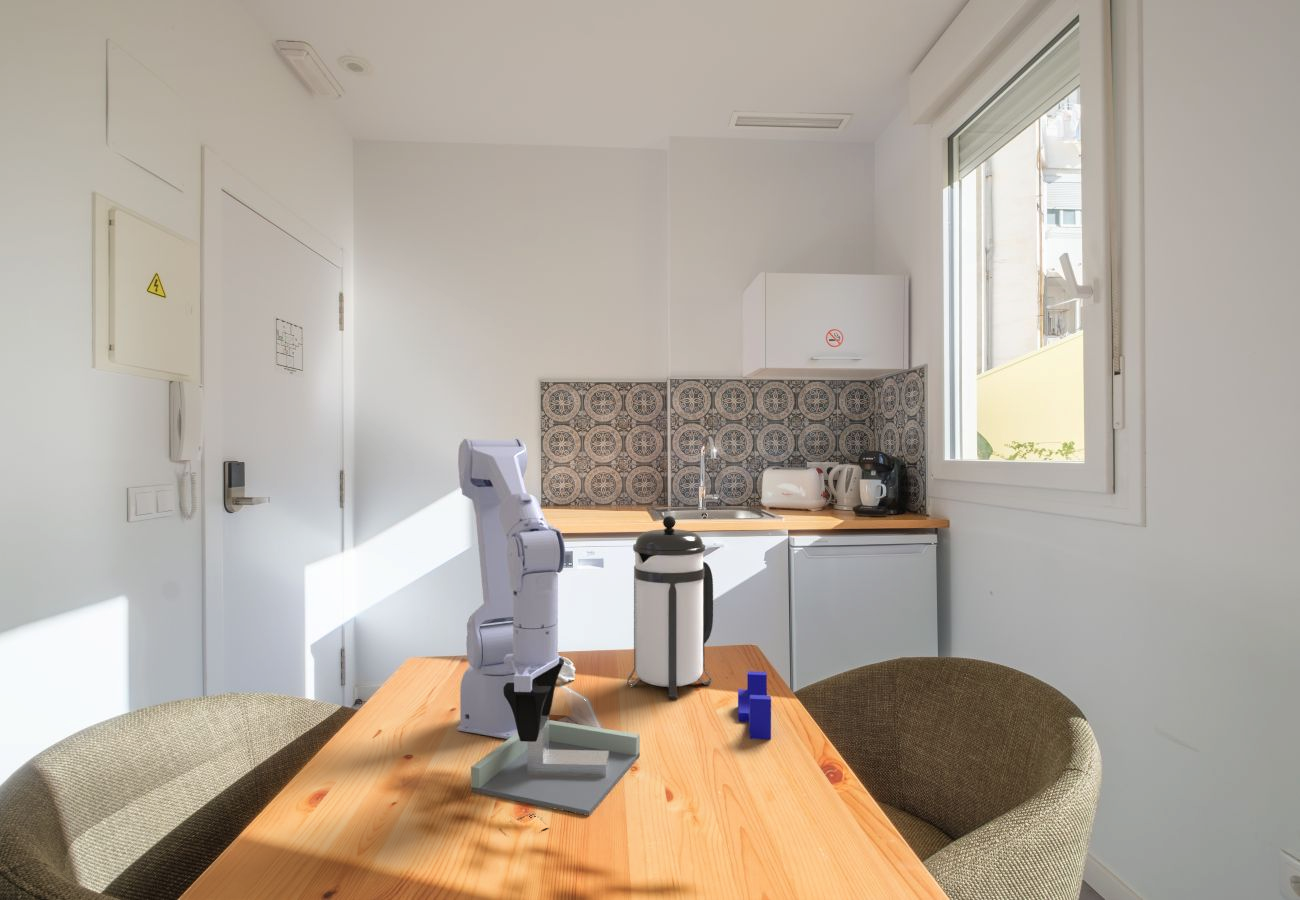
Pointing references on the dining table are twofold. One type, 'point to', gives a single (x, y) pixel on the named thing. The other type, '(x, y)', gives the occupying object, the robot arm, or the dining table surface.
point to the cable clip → (755, 705)
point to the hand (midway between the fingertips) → (535, 727)
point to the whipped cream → (566, 670)
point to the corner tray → (578, 794)
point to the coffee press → (671, 607)
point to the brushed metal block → (563, 758)
